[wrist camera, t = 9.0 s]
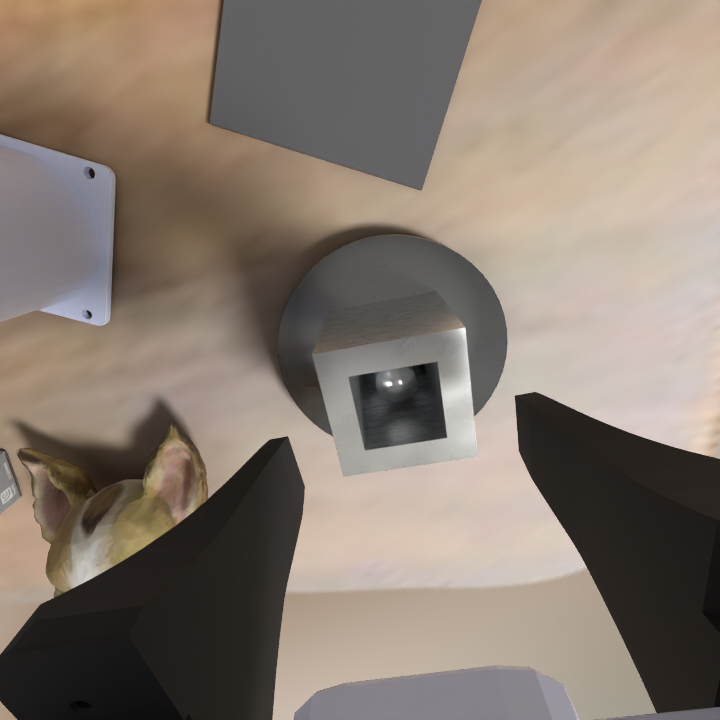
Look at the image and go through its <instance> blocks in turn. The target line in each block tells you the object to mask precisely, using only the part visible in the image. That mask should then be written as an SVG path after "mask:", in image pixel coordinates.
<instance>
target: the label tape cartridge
mask: <svg viewBox="0 0 720 720" xmlns="http://www.w3.org/2000/svg"><path fill="white" fill-rule="evenodd" d="M21 496H22V494H21V491H20V488H19V485H18V482H17V480H16V477H15V474H14V472H13V469H12V466H11V463H10V460H9V457H8V455H7V453H6V452H5V451H0V514H1V513H2V512H3V511H4V510H6V509H7V508H8V507H9V506H11V505H12V504H13V503H14V502H15V501H17V500H18V499H19V498H20V497H21Z"/></svg>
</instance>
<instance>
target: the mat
mask: <svg viewBox="0 0 720 720" xmlns="http://www.w3.org/2000/svg"><path fill="white" fill-rule="evenodd" d="M481 1H482V0H224V4H223V13H222V21H221V30H220V38H219V47H218V55H217V64H216V73H215V81H214V90H213V98H212V107H211V115H210V124H211V125H214V126H217V127H220V128H224V129H227V130H230V131H233V132H236V133H240V134H243V135H246V136H249V137H252V138H255V139H259V140H262V141H265V142H268V143H271V144H275V145H278V146H281V147H284V148H287V149H291V150H294V151H297V152H300V153H303V154H306V155H310V156H313V157H316V158H319V159H322V160H326V161H329V162H332V163H335V164H338V165H342V166H345V167H348V168H351V169H354V170H357V171H361V172H364V173H367V174H370V175H373V176H377V177H380V178H383V179H386V180H389V181H393V182H396V183H399V184H402V185H405V186H408V187H412V188H415V189H418V190H422V188H423V185H424V181H425V178H426V175H427V172H428V169H429V166H430V162H431V159H432V156H433V153H434V150H435V147H436V143H437V140H438V137H439V134H440V131H441V127H442V124H443V121H444V118H445V115H446V112H447V108H448V105H449V102H450V99H451V96H452V93H453V89H454V86H455V83H456V80H457V77H458V74H459V70H460V67H461V64H462V61H463V58H464V55H465V51H466V48H467V45H468V42H469V39H470V36H471V32H472V29H473V26H474V23H475V20H476V17H477V13H478V10H479V7H480V4H481Z"/></svg>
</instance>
